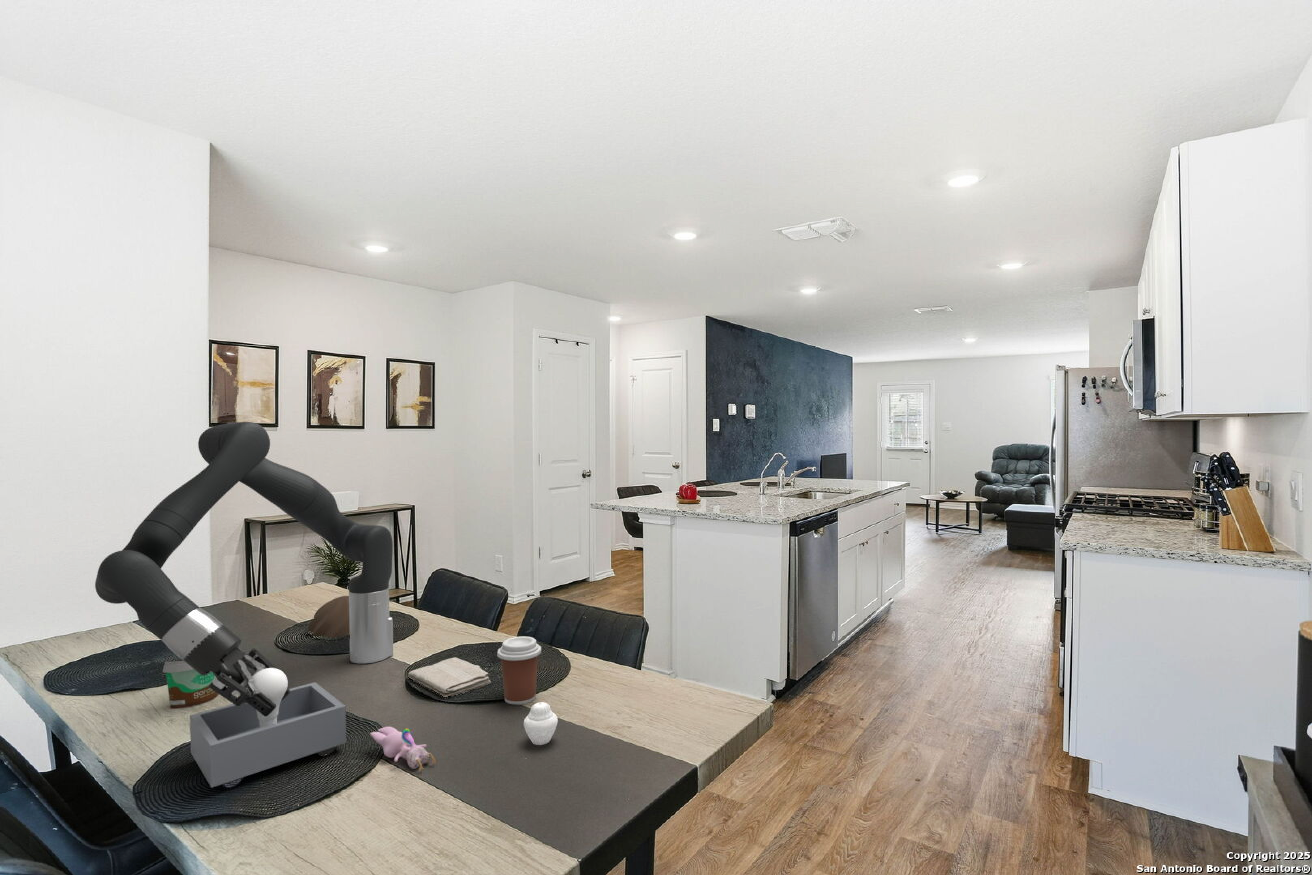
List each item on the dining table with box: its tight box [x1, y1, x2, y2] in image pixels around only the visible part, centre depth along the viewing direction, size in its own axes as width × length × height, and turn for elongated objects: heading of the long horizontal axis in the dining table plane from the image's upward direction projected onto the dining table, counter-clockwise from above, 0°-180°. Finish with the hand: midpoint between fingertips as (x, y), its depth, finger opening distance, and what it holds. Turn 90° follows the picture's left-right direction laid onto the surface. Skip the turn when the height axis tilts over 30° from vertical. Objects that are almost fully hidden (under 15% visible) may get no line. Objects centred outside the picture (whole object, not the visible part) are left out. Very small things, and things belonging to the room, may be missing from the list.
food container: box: [162, 659, 219, 709], centre depth 138 cm, size 12×6×10 cm, turn 168°
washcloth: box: [407, 657, 492, 698], centre depth 147 cm, size 12×18×3 cm, turn 48°
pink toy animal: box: [369, 726, 436, 773], centre depth 112 cm, size 6×6×15 cm
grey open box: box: [189, 681, 347, 789], centre depth 113 cm, size 20×16×8 cm
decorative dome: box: [307, 595, 350, 637], centre depth 187 cm, size 19×20×10 cm
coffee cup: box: [496, 635, 542, 706], centre depth 136 cm, size 9×9×12 cm
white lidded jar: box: [523, 701, 559, 746], centre depth 117 cm, size 6×6×7 cm
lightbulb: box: [246, 667, 289, 728], centre depth 113 cm, size 6×6×11 cm
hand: (278, 703), depth 114 cm, fingers closed on lightbulb, 6 cm apart
